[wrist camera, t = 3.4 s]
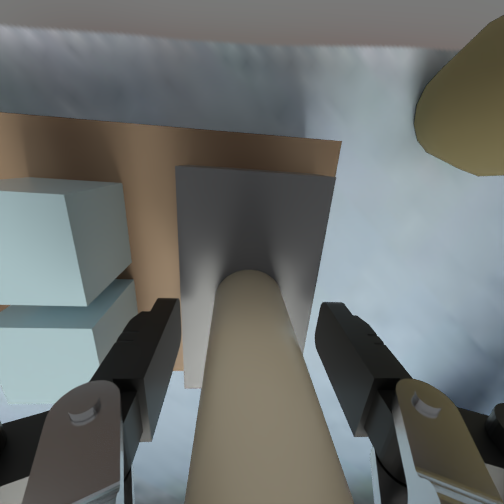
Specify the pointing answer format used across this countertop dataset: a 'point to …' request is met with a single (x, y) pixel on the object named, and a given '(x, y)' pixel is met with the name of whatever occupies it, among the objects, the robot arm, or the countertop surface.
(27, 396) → the light blue block
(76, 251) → the pale blue cube
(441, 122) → the squeeze bottle
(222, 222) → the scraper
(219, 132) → the flat wooden board
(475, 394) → the countertop surface
